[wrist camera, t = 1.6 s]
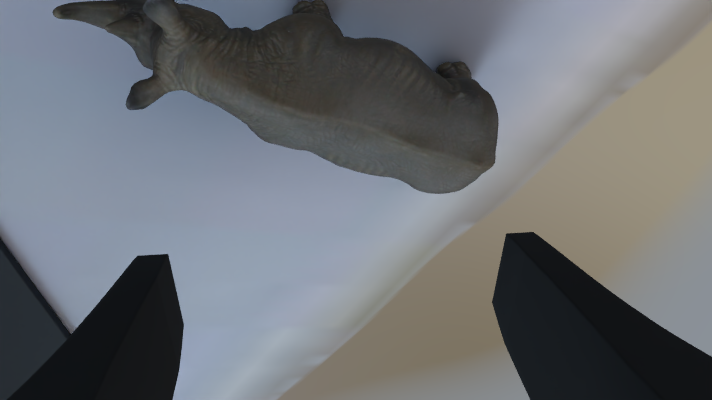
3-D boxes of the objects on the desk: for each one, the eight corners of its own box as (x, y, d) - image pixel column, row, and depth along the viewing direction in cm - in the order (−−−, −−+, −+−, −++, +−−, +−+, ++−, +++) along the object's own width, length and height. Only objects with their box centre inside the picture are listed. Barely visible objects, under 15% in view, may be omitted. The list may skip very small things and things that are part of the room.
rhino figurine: (88, -101, 16) (35, -58, 11) (484, 54, 21) (565, 129, 16) (66, 36, 18) (13, 123, 13) (434, 146, 23) (494, 236, 18)
